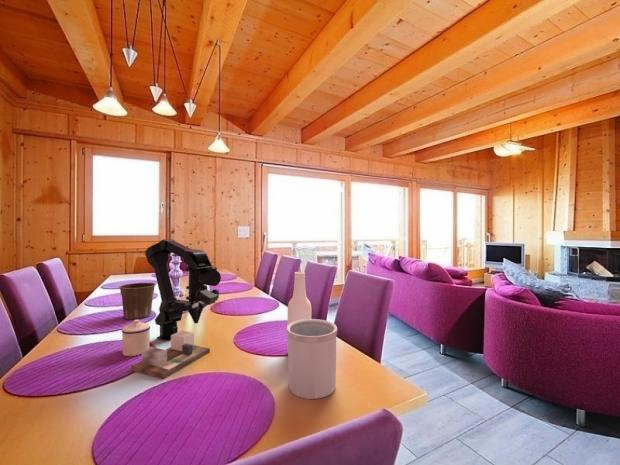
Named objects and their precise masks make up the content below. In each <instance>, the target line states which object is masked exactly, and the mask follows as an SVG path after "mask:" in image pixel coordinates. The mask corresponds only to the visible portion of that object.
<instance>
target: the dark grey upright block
mask: <svg viewBox="0 0 620 465" xmlns="http://www.w3.org/2000/svg"><path fill="white" fill-rule="evenodd" d="M182 354H185V355H191V354H192V345H188V344H184V345H182Z"/></svg>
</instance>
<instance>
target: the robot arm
mask: <svg viewBox="0 0 620 465" xmlns="http://www.w3.org/2000/svg"><path fill="white" fill-rule="evenodd" d="M170 254H174V255H176V256H177V257H179V258H180V259H182V261H183V262H184V263H185V265H186V266H187V267H186V268H185V269H184V271H185V272H188V285H186V286H185V289H186V290H188V296H186V297H185V299H186V300H183V299H177V298H176V297H175V293H174V289H173V285H172V282H171V277H170V273H169V269H168V265H167V264H168V262H169V259H170ZM207 254H208V253H207V252H206V251H204V250H203V249H202V250H201V249H193V248H190V247H188V246H186V245H184V244H182V243H179V242H178V241H176V240H175V239H172V238H169V239H168V238H165V239H162V240H160V241H159V242H157V243H155V244H152V245H151V246H148V247H147V249H146V250H145V253H144V256H145V257H146V261H147V263H148V264H149V266H151V267H152V268H153V270H154V274H155V279H156V282H157V286H158V290H159V296H160V299H161V301H160V305H159V308H158V312H159V313H158V314H157V316H156V318H155V319H154V322H155V325H157V326H159V335H158V336H157V337H156V340H162V341H163V340H164V341H171V335H173V334H175V333H177V332H179V331H178V330H179V328H178V322H180V321H181V320H182V317H183V314H184V312H188V313H189V315H190V317H191V319H192V321H193V323H194V324H199V321H200V318H201V315H202V313H203V311H204V309H205V308H206V307H207V306H211V304H215V303H216V301H218V299H219V298H220V290H219V289H217V288H214V289H211V290H209V289H208V286H209V287H210V286H211V287H216V286H218V285H219V284H220V283H221V280H222V275H221V273H220V272H219V271H217V267H213V264H212V262H211V260H210V258H209V256H208V255H207Z"/></svg>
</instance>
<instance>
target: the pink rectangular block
mask: <svg viewBox="0 0 620 465" xmlns="http://www.w3.org/2000/svg"><path fill="white" fill-rule="evenodd" d="M184 344H188V345H192V350H195V346H196V345H195V332H191V331H185V330H180V331H178V332H177V333H175V334H173V335H171V340H170V347H171V349H174V350H179V351H182V345H184Z"/></svg>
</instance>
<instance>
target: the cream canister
mask: <svg viewBox="0 0 620 465" xmlns="http://www.w3.org/2000/svg"><path fill="white" fill-rule="evenodd" d="M150 329H151V325H150V324H149V323H146V322H142V321H140V319H133V322H131V323H130V324H128V325H126V326H124V327H123V328H122V330H121V333H122V335H121V336H122V355H123V356H126V357H135V356H136V355H137V356H140V354H141V355H142V351H143V350H145V349H148V348H150V347H151V346H150V344H151V342H150V339H151V337H150V336H151V335H150V331H151V330H150Z"/></svg>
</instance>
